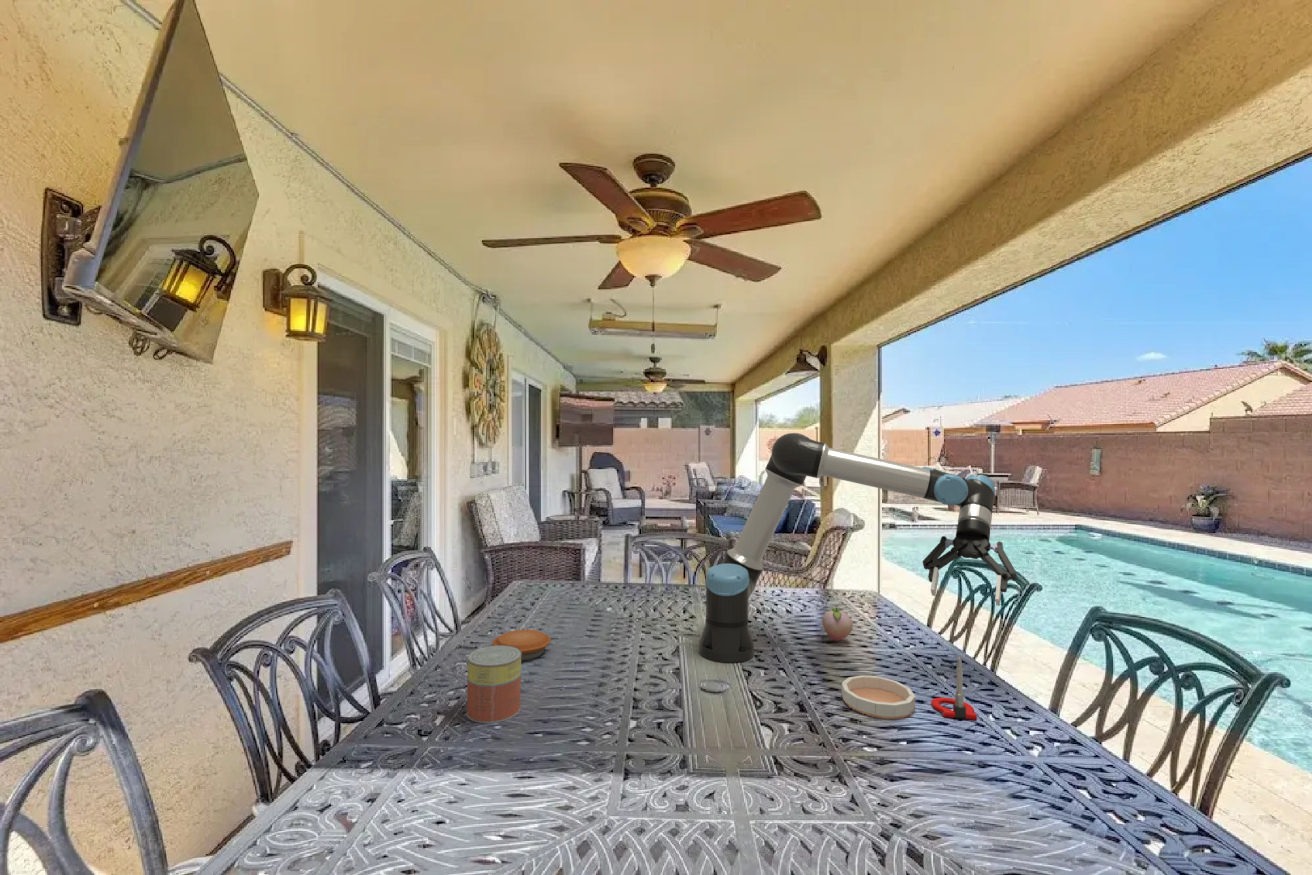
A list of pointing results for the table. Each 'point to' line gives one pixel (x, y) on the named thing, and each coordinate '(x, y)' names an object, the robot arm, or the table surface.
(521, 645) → the pie
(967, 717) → the tow hook
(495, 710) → the canned food
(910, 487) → the robot arm
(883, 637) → the table surface
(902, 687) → the round tray
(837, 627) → the decorative fruit
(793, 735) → the table surface
